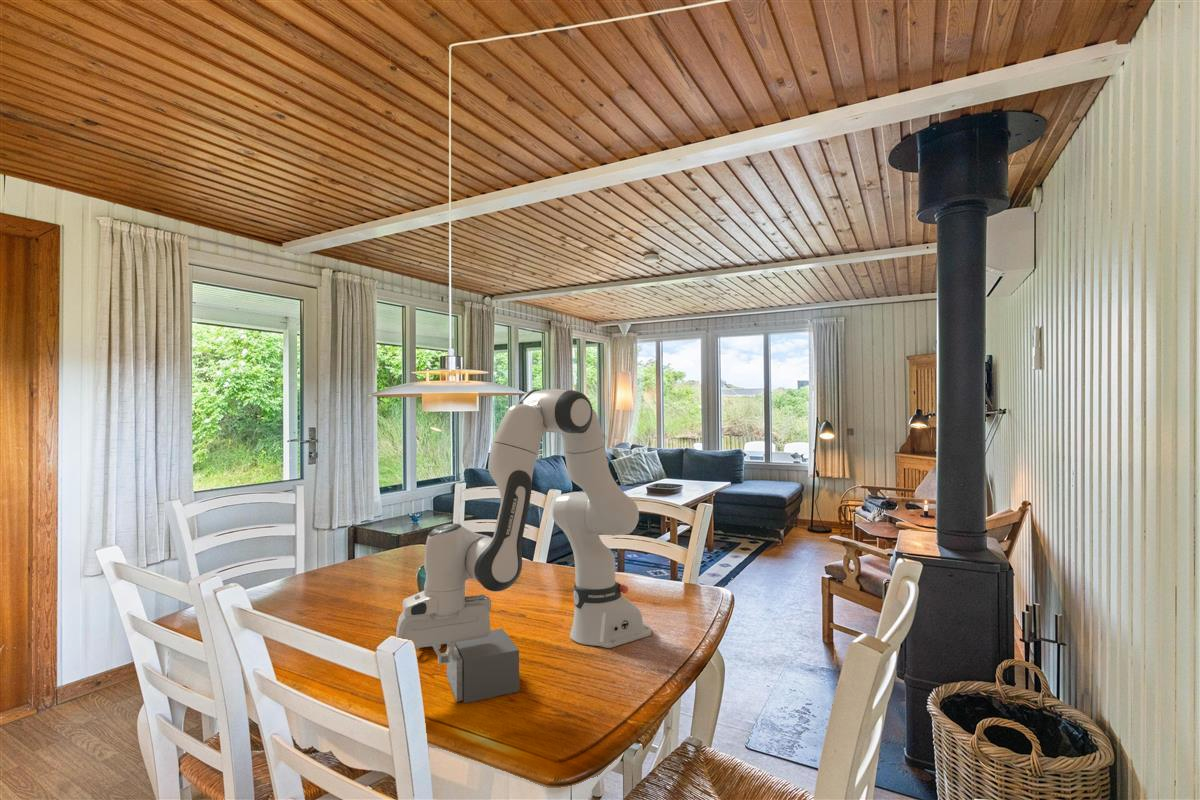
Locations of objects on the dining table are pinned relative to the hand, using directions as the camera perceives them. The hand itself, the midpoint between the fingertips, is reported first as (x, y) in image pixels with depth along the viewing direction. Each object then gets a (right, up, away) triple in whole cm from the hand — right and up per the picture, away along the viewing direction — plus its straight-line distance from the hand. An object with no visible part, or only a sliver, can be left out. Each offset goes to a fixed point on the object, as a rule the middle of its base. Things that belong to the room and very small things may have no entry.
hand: (443, 662), depth 124 cm
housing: (+8, -6, +4) cm, 11 cm away
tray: (+7, -6, +3) cm, 10 cm away
